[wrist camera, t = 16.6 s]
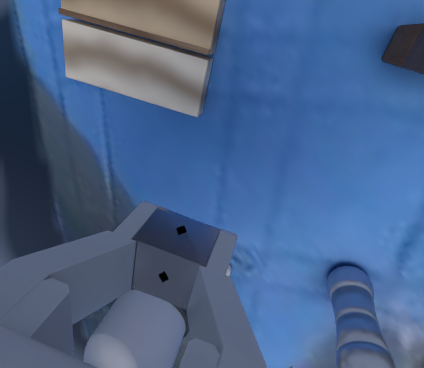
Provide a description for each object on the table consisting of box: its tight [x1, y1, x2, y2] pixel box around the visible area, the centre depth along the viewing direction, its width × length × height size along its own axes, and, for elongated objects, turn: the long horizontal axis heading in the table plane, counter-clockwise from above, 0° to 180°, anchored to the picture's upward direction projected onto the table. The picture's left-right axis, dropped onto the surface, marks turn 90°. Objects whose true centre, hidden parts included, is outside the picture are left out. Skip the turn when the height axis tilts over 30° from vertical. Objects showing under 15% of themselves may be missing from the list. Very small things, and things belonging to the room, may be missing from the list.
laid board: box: [59, 0, 226, 55], centre depth 33 cm, size 7×20×3 cm, turn 77°
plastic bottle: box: [327, 266, 396, 368], centre depth 37 cm, size 6×7×20 cm
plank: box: [62, 19, 213, 117], centre depth 37 cm, size 7×20×2 cm, turn 77°
